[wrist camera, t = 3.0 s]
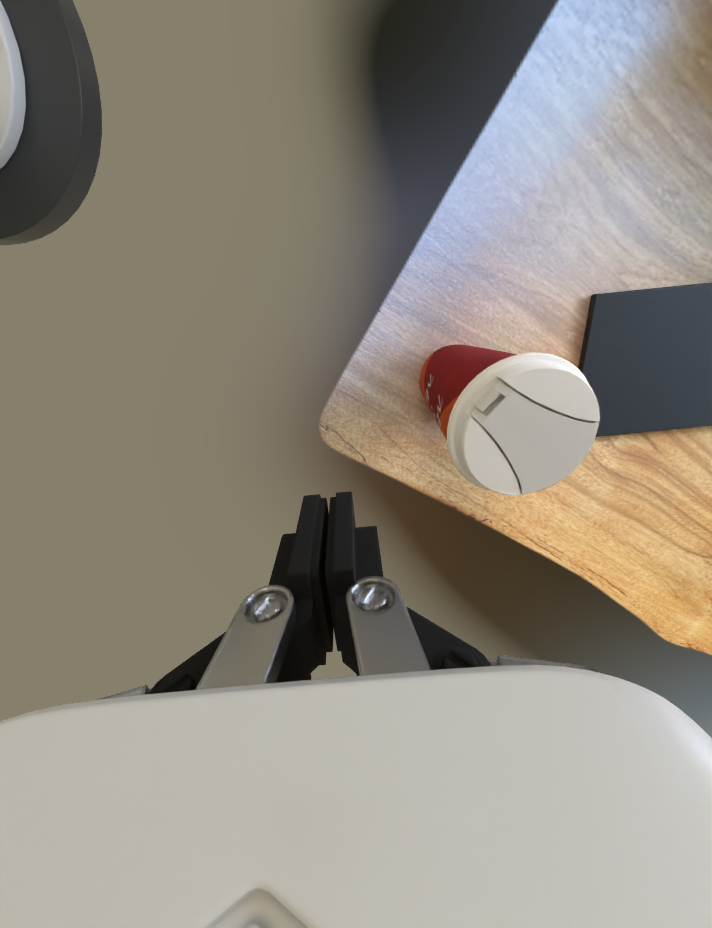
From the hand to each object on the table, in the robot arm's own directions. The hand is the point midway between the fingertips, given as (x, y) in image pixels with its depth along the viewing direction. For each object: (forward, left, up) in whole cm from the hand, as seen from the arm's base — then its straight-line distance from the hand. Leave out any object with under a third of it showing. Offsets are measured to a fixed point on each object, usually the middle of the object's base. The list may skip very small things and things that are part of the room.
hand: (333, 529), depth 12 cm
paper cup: (+10, +2, -20) cm, 22 cm away
